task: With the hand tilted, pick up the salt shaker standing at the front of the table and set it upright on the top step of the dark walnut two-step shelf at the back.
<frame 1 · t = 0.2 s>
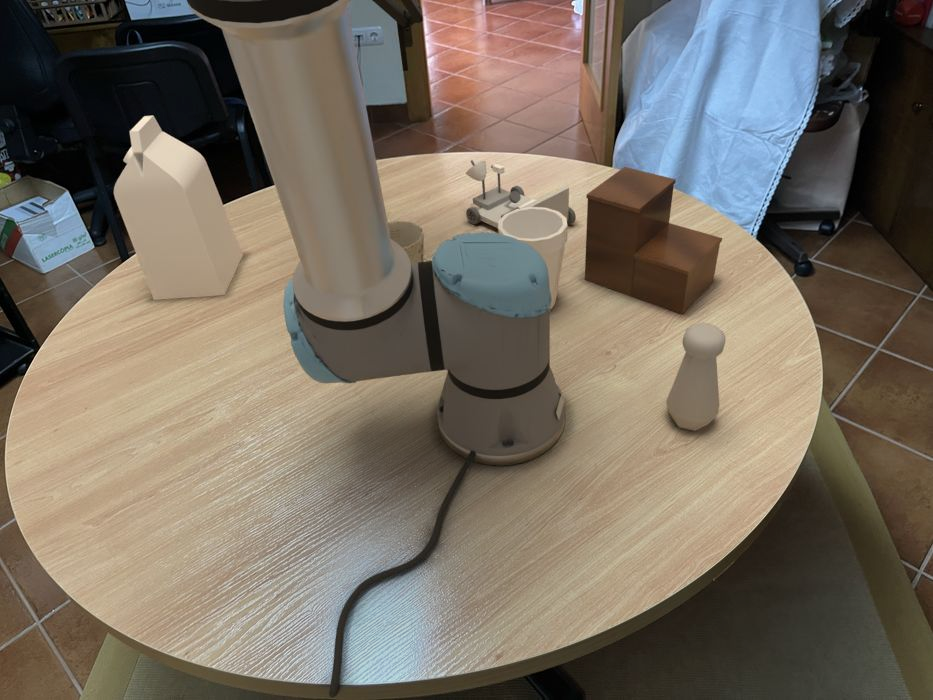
hand: (360, 70, 103), 28 cm above the table, tool tilted 20°, fingers open, 13 cm apart
step shelf: (648, 280, 104), on the table
salt shaker: (689, 419, 81), on the table
milk: (200, 277, 115), on the table
foam cup: (533, 302, 102), on the table
mug: (391, 292, 107), on the table
grey wheeled model: (515, 222, 121), on the table
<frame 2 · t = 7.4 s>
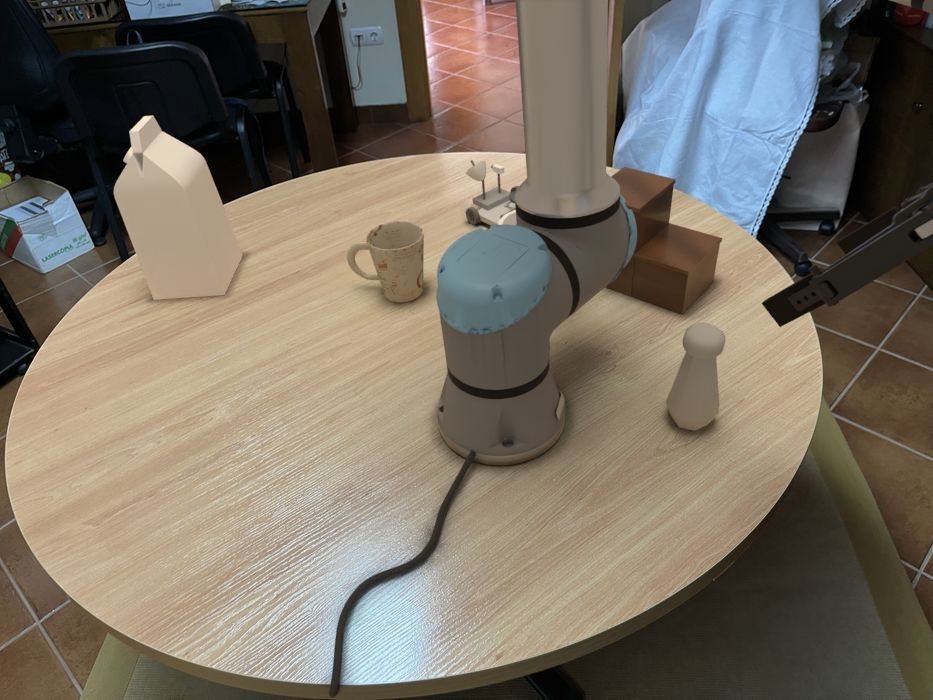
hand: (811, 281, 66), 20 cm above the table, tool tilted 35°, fingers open, 13 cm apart
nothing on the table moved.
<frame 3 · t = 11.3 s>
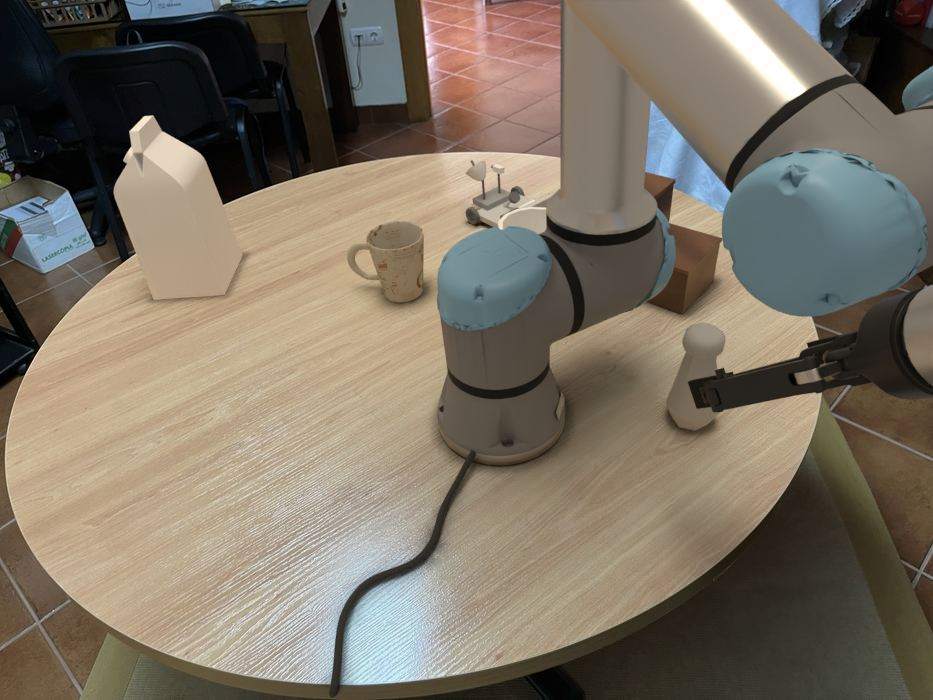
hand: (755, 374, 67), 13 cm above the table, tool tilted 45°, fingers open, 13 cm apart
nothing on the table moved.
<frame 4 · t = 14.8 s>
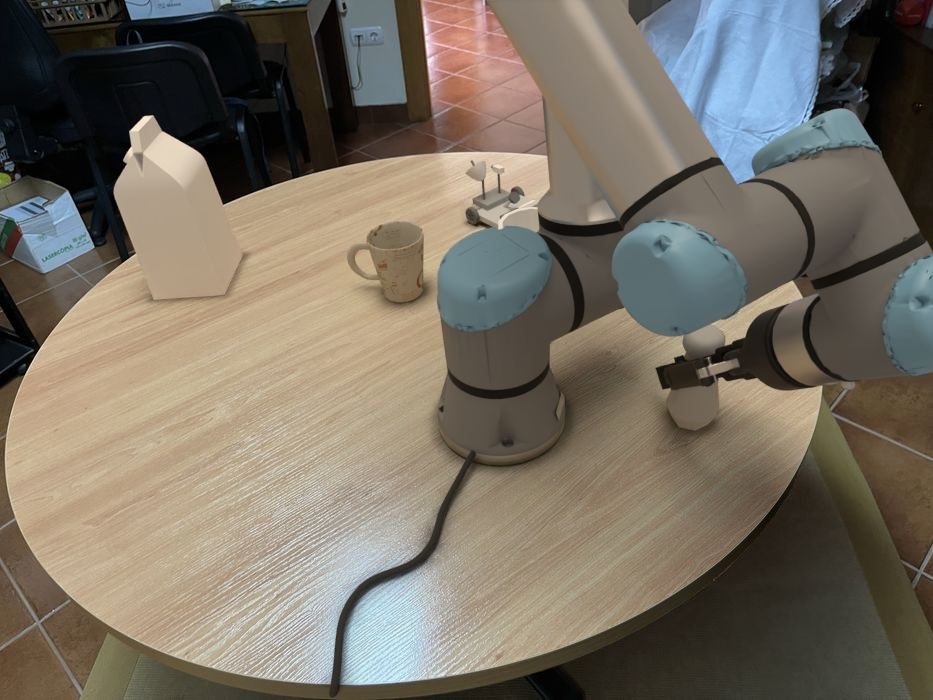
hand: (675, 373, 81), 4 cm above the table, tool tilted 45°, fingers closed on salt shaker, 3 cm apart
salt shaker: (689, 419, 81), on the table, touching gripper
everything else where it was.
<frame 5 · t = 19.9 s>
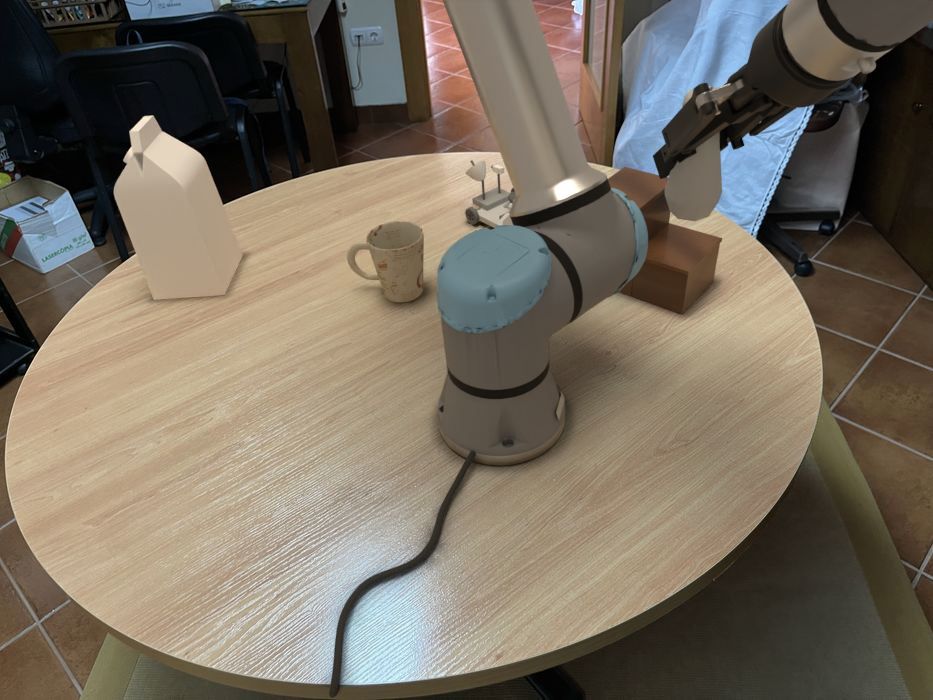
hand: (674, 163, 75), 26 cm above the table, tool tilted 45°, fingers closed on salt shaker, 3 cm apart
salt shaker: (689, 213, 75), point 22 cm above the table, touching gripper
everything else where it was.
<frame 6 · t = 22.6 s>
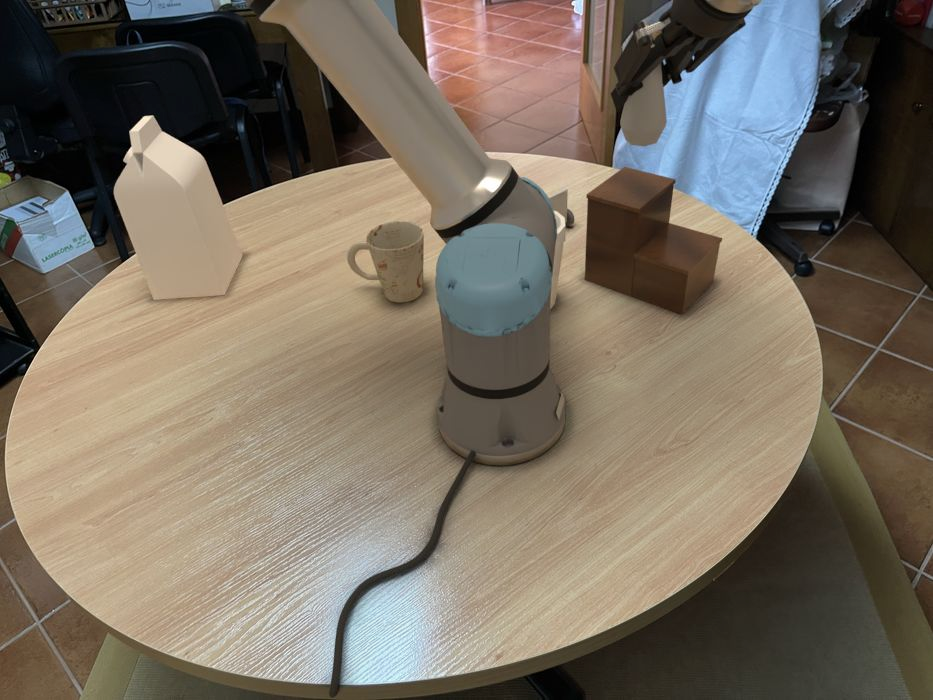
hand: (628, 99, 91), 26 cm above the table, tool tilted 45°, fingers closed on salt shaker, 3 cm apart
salt shaker: (641, 141, 91), point 22 cm above the table, touching gripper
foam cup: (533, 302, 102), on the table, touching arm
everything else where it was.
when the fingers open (18 cm above the table, at t = 25.0 s): salt shaker stays where it is, resting on step shelf.
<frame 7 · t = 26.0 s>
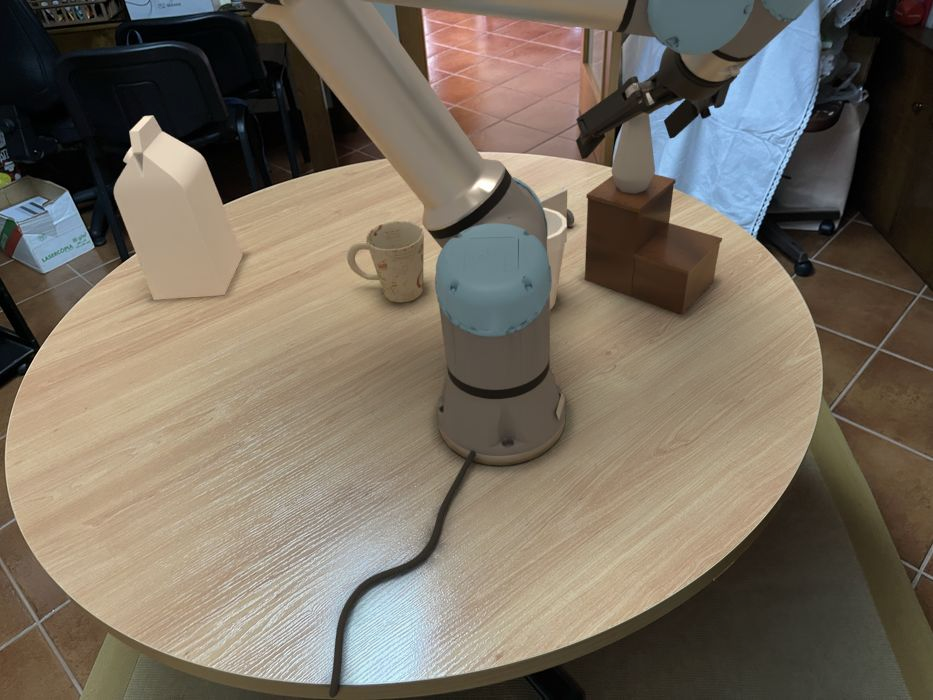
hand: (625, 139, 95), 20 cm above the table, tool tilted 45°, fingers open, 13 cm apart
salt shaker: (631, 188, 97), point 14 cm above the table, touching step shelf
foam cup: (533, 303, 102), on the table
everything else where it was.
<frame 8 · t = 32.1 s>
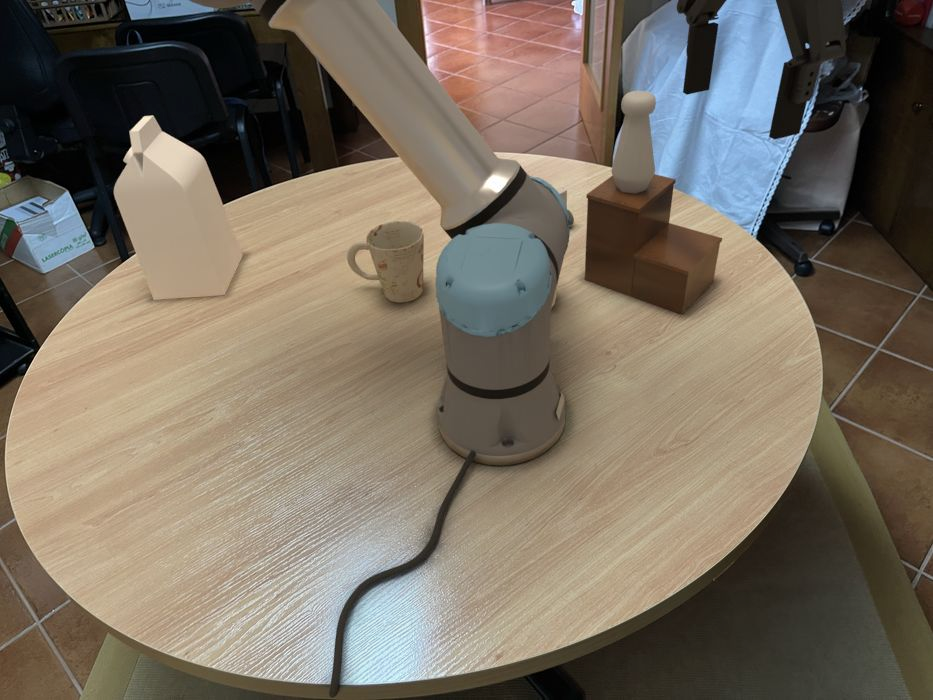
hand: (736, 112, 68), 33 cm above the table, tool pointing down, fingers open, 13 cm apart
foam cup: (533, 302, 102), on the table, touching arm
everything else where it was.
at the end: salt shaker inside the target area on the step shelf (0.5 cm from its centre), point 14.1 cm above the step shelf's base; salt shaker tilted 0°; the gripper is holding nothing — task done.
